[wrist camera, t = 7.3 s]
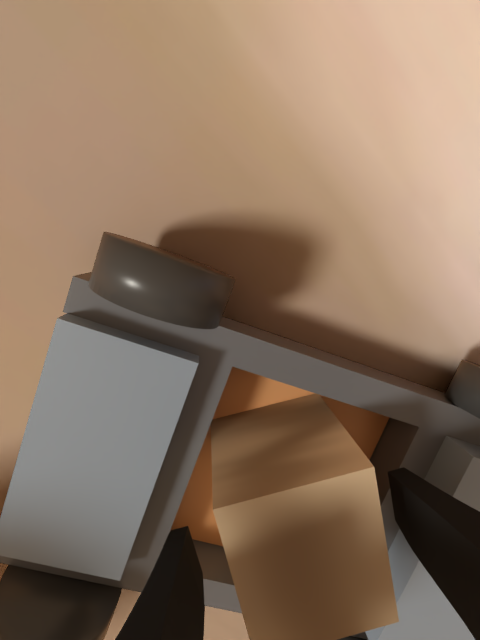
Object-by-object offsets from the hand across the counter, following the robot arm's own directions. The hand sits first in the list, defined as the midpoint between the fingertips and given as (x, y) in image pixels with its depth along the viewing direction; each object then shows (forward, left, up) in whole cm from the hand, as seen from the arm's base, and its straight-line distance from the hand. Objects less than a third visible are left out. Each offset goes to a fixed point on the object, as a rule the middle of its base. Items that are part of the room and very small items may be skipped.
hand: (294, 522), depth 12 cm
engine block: (0, 0, -3) cm, 3 cm away
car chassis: (0, 0, -3) cm, 3 cm away
